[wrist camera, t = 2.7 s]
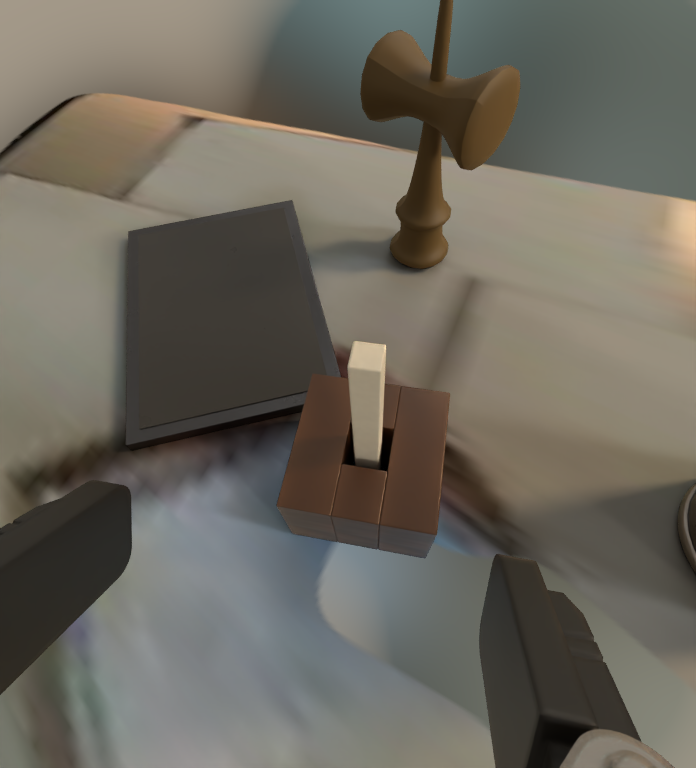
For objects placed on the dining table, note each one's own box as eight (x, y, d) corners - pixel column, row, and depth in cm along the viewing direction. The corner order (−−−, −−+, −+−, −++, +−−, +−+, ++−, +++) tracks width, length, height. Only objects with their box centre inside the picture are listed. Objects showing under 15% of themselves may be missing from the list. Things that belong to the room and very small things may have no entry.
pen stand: (438, 434, 33) (450, 392, 28) (425, 558, 29) (437, 535, 24) (321, 416, 35) (312, 373, 29) (292, 533, 30) (275, 506, 25)
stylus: (380, 473, 32) (387, 343, 19) (377, 493, 31) (381, 372, 19) (360, 470, 32) (353, 339, 20) (356, 490, 32) (346, 368, 19)
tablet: (293, 208, 47) (291, 198, 46) (346, 401, 35) (345, 393, 34) (132, 239, 46) (127, 230, 45) (131, 450, 34) (124, 444, 33)
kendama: (439, 297, 40) (490, 22, 23) (357, 246, 44) (349, -25, 27) (481, 260, 42) (555, -18, 25) (399, 213, 46) (416, -56, 29)
